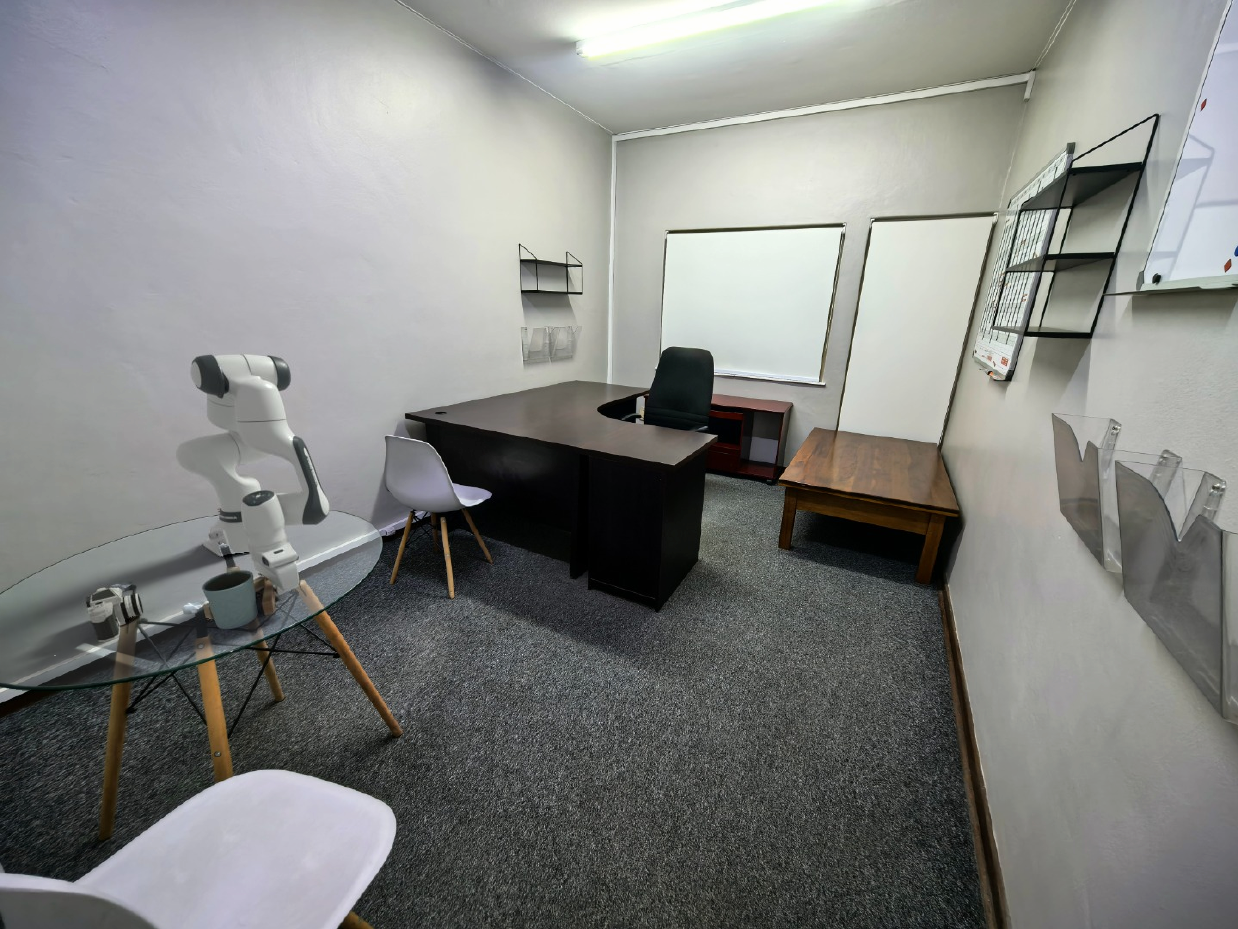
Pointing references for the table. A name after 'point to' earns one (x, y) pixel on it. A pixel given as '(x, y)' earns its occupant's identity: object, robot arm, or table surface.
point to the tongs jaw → (268, 598)
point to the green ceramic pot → (231, 598)
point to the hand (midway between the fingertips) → (280, 592)
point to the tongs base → (258, 585)
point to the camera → (111, 611)
